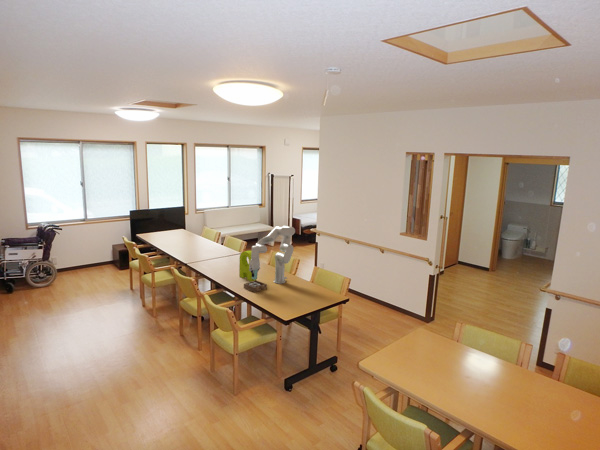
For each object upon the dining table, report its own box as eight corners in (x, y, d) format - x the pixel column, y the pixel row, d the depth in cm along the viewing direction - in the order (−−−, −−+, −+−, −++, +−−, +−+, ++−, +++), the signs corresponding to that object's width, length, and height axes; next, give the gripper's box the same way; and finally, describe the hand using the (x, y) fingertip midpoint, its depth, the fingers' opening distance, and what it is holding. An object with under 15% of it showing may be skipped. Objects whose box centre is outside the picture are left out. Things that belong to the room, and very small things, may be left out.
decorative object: (256, 280, 396) (256, 252, 390) (251, 281, 391) (251, 253, 386) (244, 275, 409) (244, 248, 404) (239, 276, 404) (239, 249, 399)
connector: (254, 278, 372) (254, 267, 371) (257, 278, 370) (257, 268, 368) (251, 278, 370) (252, 268, 368) (254, 279, 367) (254, 268, 366)
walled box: (255, 284, 383) (256, 280, 382) (266, 288, 372) (266, 284, 371) (243, 288, 371) (243, 283, 370) (254, 292, 360) (254, 288, 360)
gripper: (258, 256, 375) (258, 273, 378) (246, 258, 363) (245, 276, 366) (263, 257, 370) (263, 275, 373) (251, 260, 358) (250, 278, 361)
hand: (254, 276), depth 370 cm, fingers closed on connector, 3 cm apart
